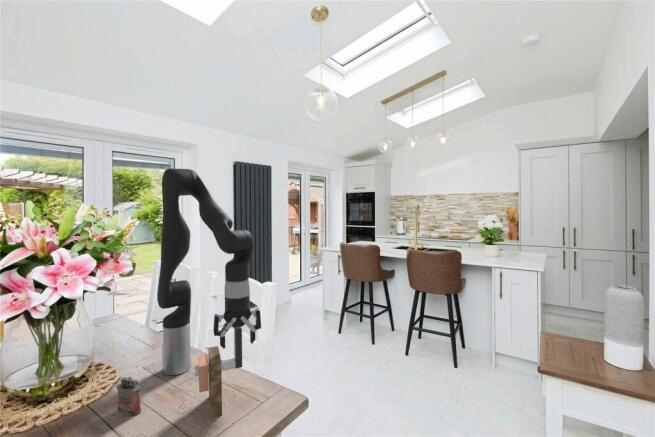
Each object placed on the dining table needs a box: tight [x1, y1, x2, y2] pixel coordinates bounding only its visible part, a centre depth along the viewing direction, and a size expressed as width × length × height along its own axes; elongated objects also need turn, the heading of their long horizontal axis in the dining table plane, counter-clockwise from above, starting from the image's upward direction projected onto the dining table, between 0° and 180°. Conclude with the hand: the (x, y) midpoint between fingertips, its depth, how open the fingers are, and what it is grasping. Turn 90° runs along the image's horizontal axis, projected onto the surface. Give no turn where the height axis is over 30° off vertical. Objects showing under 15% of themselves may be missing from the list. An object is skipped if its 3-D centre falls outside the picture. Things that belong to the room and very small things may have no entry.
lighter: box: [116, 376, 142, 417], centre depth 93 cm, size 8×3×10 cm, turn 70°
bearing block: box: [207, 346, 223, 419], centre depth 95 cm, size 3×11×16 cm, turn 24°
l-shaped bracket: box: [194, 326, 243, 377], centre depth 96 cm, size 14×3×12 cm, turn 114°
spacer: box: [197, 353, 209, 393], centre depth 94 cm, size 2×8×8 cm, turn 24°
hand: (237, 345), depth 98 cm, fingers open, 8 cm apart
